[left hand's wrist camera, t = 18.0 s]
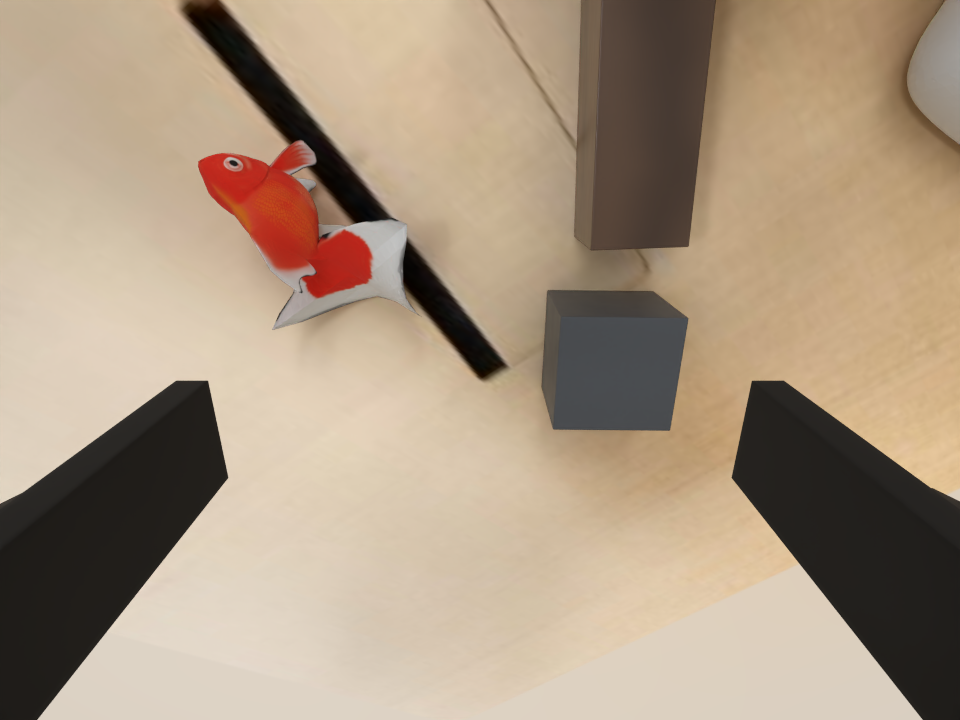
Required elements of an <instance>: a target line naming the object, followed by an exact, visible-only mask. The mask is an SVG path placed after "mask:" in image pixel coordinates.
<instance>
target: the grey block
mask: <svg viewBox="0 0 960 720" xmlns="http://www.w3.org/2000/svg"><path fill="white" fill-rule="evenodd" d="M687 324H688V318H687V317H686V316H685V315H683V314H682V313H681V312H679V311H678V310H677V309H676V308H674V307H673V306H672V305H670V304H669V303H668V302H666V301H665V300H664V299H663V298H661V297H660V296H659V295H657V294H656V293H655V292H653V291H563V290H548V291H547V305H546V322H545V339H544V355H543V372H542V390H543V394H544V398H545V401H546V405H547V409H548V412H549V416H550V420H551V423H552V427H553V429H560V430H662V431H669V430H670V427H671V421H672V415H673V409H674V403H675V397H676V391H677V385H678V379H679V372H680V366H681V360H682V354H683V348H684V342H685V336H686V330H687Z"/></svg>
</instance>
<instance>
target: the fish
mask: <svg viewBox="0 0 960 720" xmlns="http://www.w3.org/2000/svg"><path fill="white" fill-rule="evenodd" d="M316 163H317V160H316V156H315V153H314V152H313V151H312V150H311V149H310V148H309V147H308V146H307V144H306V143H305V142H304V141H303V140H299V141H296V142H294V143H293V144H292V145H290V146H288V147H287V148H285V149H284V150H283V151H282V152H281V154H280V155H279V156H278V157H277V158H276V159H275V160H274V162H273V163H272V164H271V165H270V166H268V165H267V164H266V163H264V162H262V161H259V160H256V159H252V158H249V157H246V156H242V155H238V154H233V153H221V154H215V155H212V156H208V157H206V158H204V159H202V160H200V161H198V167H199V170H200V173H201V175H202V178H203V180H204V183H205V185H206V187H207V190H208V192H209V194H210V195H211V196H212V198H214V199H215V200H216V201H217V203H218V204H220V205H221V206H222V207H223V208H224V209H226V210H227V211H228V212H230V213H231V214H233V215H235V217H236V218H237V219H238V220H239V222H240V223H241V224H242V226H243V227H244V228H245V230H246V231H247V232H248V233H249V234H250V236H251V238H252V240H253V242H254V243H255V245H256V247H257V248H258V250H259V252H260V253H261V255H262V257H263V258H264V260H265V262H266V264H267V265H268V267H269V269H270V270H271V271H272V272H273V273H274V274H275V275H276V276H277V277H278V278H280V279H281V280H282V281H283V282H285V283H286V284H287V285H289V286H290V287H292V288H293V289H294V292H293V294H292V296H291V297H290V299H289V300H288V302H287V303H286V305H285V306H284V308H283V309H282V311H281V312H280V314H279V316H278V318H277V320H276V322H275V325H274V327H273V329H272V330H274V329H278V328H281V327H285V326H289V325H292V324H296V323H299V322H303V321H305V320H308V319H310V318H313V317H315V316H318V315H321V314H323V313H326V312H328V311H331V310H333V309H336V308H339V307H342V306H344V305H347V304H350V303H353V302H355V301H359V300H363V299H367V298H371V297H376V296H378V297H382V298H386V299H390V300H393V301H396V302H398V303H399V304H401V305H402V306H404V307H406V308H407V309H409V310H410V311H412V312H414V313H416V312H415V310H414V309H413V307H412V306H411V305H410V303H409V302H408V300H407V299H406V295H405V290H404V285H403V258H404V252H405V246H406V234H407V224H405V223H403V222H401V221H398V220H396V219H394V218H387V219H380V220H373V221H367V222H362V223H358V224H353V225H350V226H343V225H323V224H319V222H318V214H317V209H316V206H315V204H314V201H313V199H312V197H311V195H310V194H309V192H310V191H311V190H312V189H313V188H314V187H315V186H316V183H315V181H313V180H308V179H298V178H294V177H292V176H291V175H292V174H294V173H296V172H298V171H299V170H301V169H303V168H305V167H308V166H312V165H315V164H316ZM319 238H320V240H319ZM416 314H417V313H416ZM417 315H418V314H417ZM419 316H420V315H419Z"/></svg>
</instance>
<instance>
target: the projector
mask: <svg viewBox="0 0 960 720" xmlns="http://www.w3.org/2000/svg"><path fill="white" fill-rule="evenodd" d="M907 87H908V90H909V93H910V96H911V98H912V100H913V102H914V103H915V104H916V106H917V107H918V108H919V110H920V111H921V112H922V113H923V114H924V115H925V116H926V117H927V118H928V119H929V120H930V121H931V122H932V123H933V124H934V125H936V126H937V127H938V128H939V129H940V130H941V131H943V132H944V133H945V134H946V135H947V136H949V137H950V138H951V139H953V140H954V141H955V142H957V143H958V144H959V145H960V0H945V2H944V3H943V5H942V6H941V7H940V9H939V10H938V12H937V13H936V15H935V16H934V17H933V19H932V20H931V22H930V23H929V25H928V27H927V28H926V30H925V32H924V33H923V35H922V37H921V38H920V40H919V42H918V44H917V46H916V49H915V51H914V53H913V56H912V58H911V61H910V64H909V68H908V72H907Z"/></svg>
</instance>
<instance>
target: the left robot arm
mask: <svg viewBox="0 0 960 720" xmlns="http://www.w3.org/2000/svg"><path fill="white" fill-rule="evenodd" d="M227 479H228V474H227V469H226V465H225V460H224V455H223V450H222V445H221V441H220V436H219V431H218V426H217V422H216V417H215V412H214V407H213V402H212V398H211V393H210V388H209V383H208V381H175V382H174V383H173V384H171V385H170V386H168V387H167V388H166V389H164V390H163V391H162V392H160V393H159V394H157V395H156V396H155V397H153V398H152V399H151V400H149V401H148V402H147V403H145V404H144V405H142V406H141V407H140V408H138V409H137V410H136V411H134V412H133V413H131V414H130V415H129V416H127V417H126V418H125V419H123V420H122V421H120V422H119V423H118V424H116V425H115V426H114V427H112V428H111V429H110V430H108V431H107V432H105V433H104V434H103V435H101V436H100V437H99V438H97V439H96V440H94V441H93V442H92V443H90V444H89V445H88V446H86V447H85V448H83V449H82V450H81V451H79V452H78V453H77V454H75V455H74V456H73V457H71V458H70V459H68V460H67V461H66V462H64V463H63V464H62V465H60V466H59V467H57V468H56V469H55V470H53V471H52V472H51V473H49V474H48V475H46V476H45V477H44V478H42V479H41V480H40V481H38V482H37V483H36V484H34V485H33V486H31V487H30V488H29V489H27V490H26V491H25V492H23V493H21V494H19V495H17V496H15V497H13V498H11V499H9V500H7V501H5V502H3V503H1V504H0V720H37V719H38V718H39V717H40V715H41V714H42V713H43V712H44V710H45V709H46V708H47V707H48V705H49V704H50V703H51V702H52V700H53V699H54V698H55V697H56V695H57V694H58V693H59V691H60V690H61V689H62V688H63V686H64V685H65V684H66V683H67V681H68V680H69V679H70V678H71V676H72V675H73V674H74V672H75V671H76V670H77V669H78V667H79V666H80V665H81V664H82V662H83V661H84V660H85V659H86V657H87V656H88V655H89V653H90V652H91V651H92V650H93V648H94V647H95V646H96V645H97V643H98V642H99V641H100V639H101V638H102V637H103V636H104V634H105V633H106V632H107V631H108V629H109V628H110V627H111V626H112V624H113V623H114V622H115V621H116V619H117V618H118V617H119V615H120V614H121V613H122V612H123V610H124V609H125V608H126V607H127V605H128V604H129V603H130V602H131V600H132V599H133V598H134V597H135V595H136V594H137V593H138V591H139V590H140V589H141V588H142V586H143V585H144V584H145V583H146V581H147V580H148V579H149V578H150V576H151V575H152V574H153V572H154V571H155V570H156V569H157V567H158V566H159V565H160V564H161V562H162V561H163V560H164V559H165V557H166V556H167V555H168V553H169V552H170V551H171V550H172V548H173V547H174V546H175V545H176V543H177V542H178V541H179V540H180V538H181V537H182V536H183V534H184V533H185V532H186V531H187V529H188V528H189V527H190V526H191V524H192V523H193V522H194V521H195V519H196V518H197V517H198V515H199V514H200V513H201V512H202V510H203V509H204V508H205V507H206V505H207V504H208V503H209V502H210V500H211V499H212V498H213V496H214V495H215V494H216V493H217V491H218V490H219V489H220V488H221V486H222V485H223V484H224V483H225V481H226V480H227ZM732 479H733V480H734V481H735V483H736V484H737V485H738V486H739V488H740V489H741V490H742V491H743V493H744V494H745V495H746V496H747V498H748V499H749V500H750V502H751V503H752V504H753V505H754V507H755V508H756V509H757V510H758V512H759V513H760V514H761V515H762V517H763V518H764V519H765V521H766V522H767V523H768V524H769V526H770V527H771V528H772V529H773V531H774V532H775V533H776V534H777V536H778V537H779V538H780V540H781V541H782V542H783V543H784V545H785V546H786V547H787V548H788V550H789V551H790V552H791V553H792V555H793V556H794V557H795V559H796V560H797V561H798V562H799V564H800V565H801V566H802V567H803V569H804V570H805V571H806V572H807V574H808V575H809V576H810V577H811V579H812V580H813V581H814V583H815V584H816V585H817V586H818V588H819V589H820V590H821V591H822V593H823V594H824V595H825V596H826V598H827V599H828V600H829V602H830V603H831V604H832V605H833V607H834V608H835V609H836V610H837V612H838V613H839V614H840V615H841V617H842V618H843V619H844V621H845V622H846V623H847V624H848V626H849V627H850V628H851V629H852V631H853V632H854V633H855V634H856V636H857V637H858V638H859V640H860V641H861V642H862V643H863V645H864V646H865V647H866V648H867V650H868V651H869V652H870V653H871V655H872V656H873V657H874V659H875V660H876V661H877V662H878V664H879V665H880V666H881V667H882V669H883V670H884V671H885V672H886V674H887V675H888V676H889V678H890V679H891V680H892V681H893V683H894V684H895V685H896V686H897V688H898V689H899V690H900V691H901V693H902V694H903V695H904V696H905V698H906V699H907V700H908V702H909V703H910V704H911V705H912V707H913V708H914V709H915V710H916V712H917V713H918V714H919V716H920V717H921V718H922V719H923V720H960V501H958V500H956V499H954V498H952V497H950V496H947V495H945V494H943V493H941V492H939V491H937V490H935V489H933V488H930V487H929V486H927V485H926V484H924V483H923V482H922V481H920V480H919V479H918V478H916V477H915V476H914V475H912V474H911V473H909V472H908V471H907V470H905V469H904V468H903V467H901V466H900V465H898V464H897V463H896V462H894V461H893V460H892V459H890V458H889V457H887V456H886V455H885V454H883V453H882V452H881V451H879V450H878V449H877V448H875V447H874V446H872V445H871V444H870V443H868V442H867V441H866V440H864V439H863V438H861V437H860V436H859V435H857V434H856V433H855V432H853V431H852V430H850V429H849V428H848V427H846V426H845V425H844V424H842V423H841V422H840V421H838V420H837V419H835V418H834V417H833V416H831V415H830V414H829V413H827V412H826V411H824V410H823V409H822V408H820V407H819V406H818V405H816V404H815V403H813V402H812V401H811V400H809V399H808V398H807V397H805V396H804V395H803V394H801V393H800V392H798V391H797V390H796V389H794V388H793V387H792V386H790V385H789V384H787V383H786V382H785V381H752V383H751V388H750V393H749V398H748V402H747V407H746V412H745V417H744V422H743V426H742V431H741V436H740V441H739V445H738V450H737V455H736V460H735V465H734V469H733V474H732Z"/></svg>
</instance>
